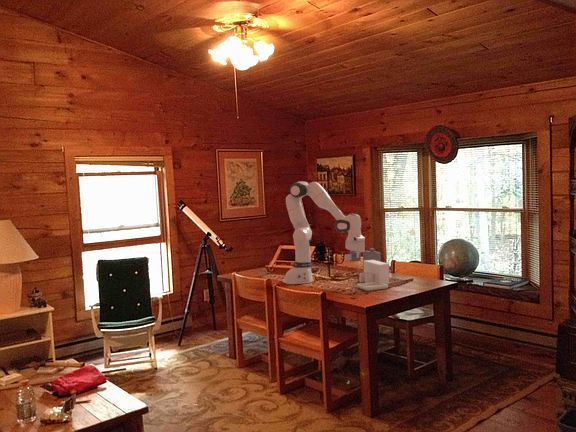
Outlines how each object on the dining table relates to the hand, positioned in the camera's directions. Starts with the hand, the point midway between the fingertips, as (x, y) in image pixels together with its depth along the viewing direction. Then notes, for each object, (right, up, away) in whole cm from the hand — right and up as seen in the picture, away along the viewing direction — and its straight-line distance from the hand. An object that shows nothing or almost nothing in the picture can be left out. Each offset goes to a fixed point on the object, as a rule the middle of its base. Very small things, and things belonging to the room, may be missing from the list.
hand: (354, 257), depth 377 cm
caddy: (-2, -3, -1) cm, 3 cm away
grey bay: (+13, -18, +8) cm, 24 cm away
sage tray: (+10, -20, -11) cm, 25 cm away
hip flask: (+17, -16, +36) cm, 43 cm away
